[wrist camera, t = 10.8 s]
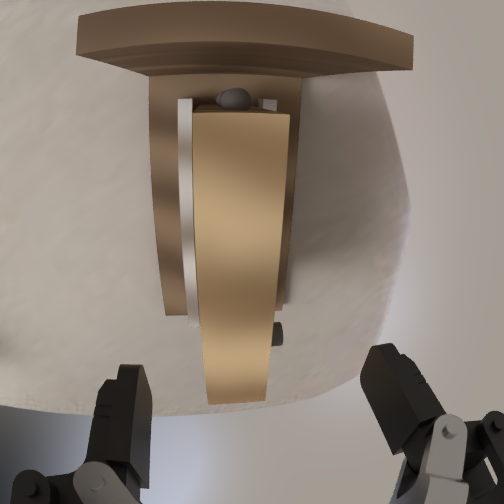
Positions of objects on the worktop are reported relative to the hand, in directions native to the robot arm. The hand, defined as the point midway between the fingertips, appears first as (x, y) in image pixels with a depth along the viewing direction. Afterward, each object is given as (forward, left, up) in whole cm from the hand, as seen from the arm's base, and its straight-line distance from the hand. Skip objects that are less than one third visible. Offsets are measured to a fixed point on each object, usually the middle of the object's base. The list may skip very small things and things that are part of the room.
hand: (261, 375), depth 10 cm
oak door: (0, 0, -19) cm, 19 cm away
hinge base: (0, 0, -20) cm, 20 cm away
